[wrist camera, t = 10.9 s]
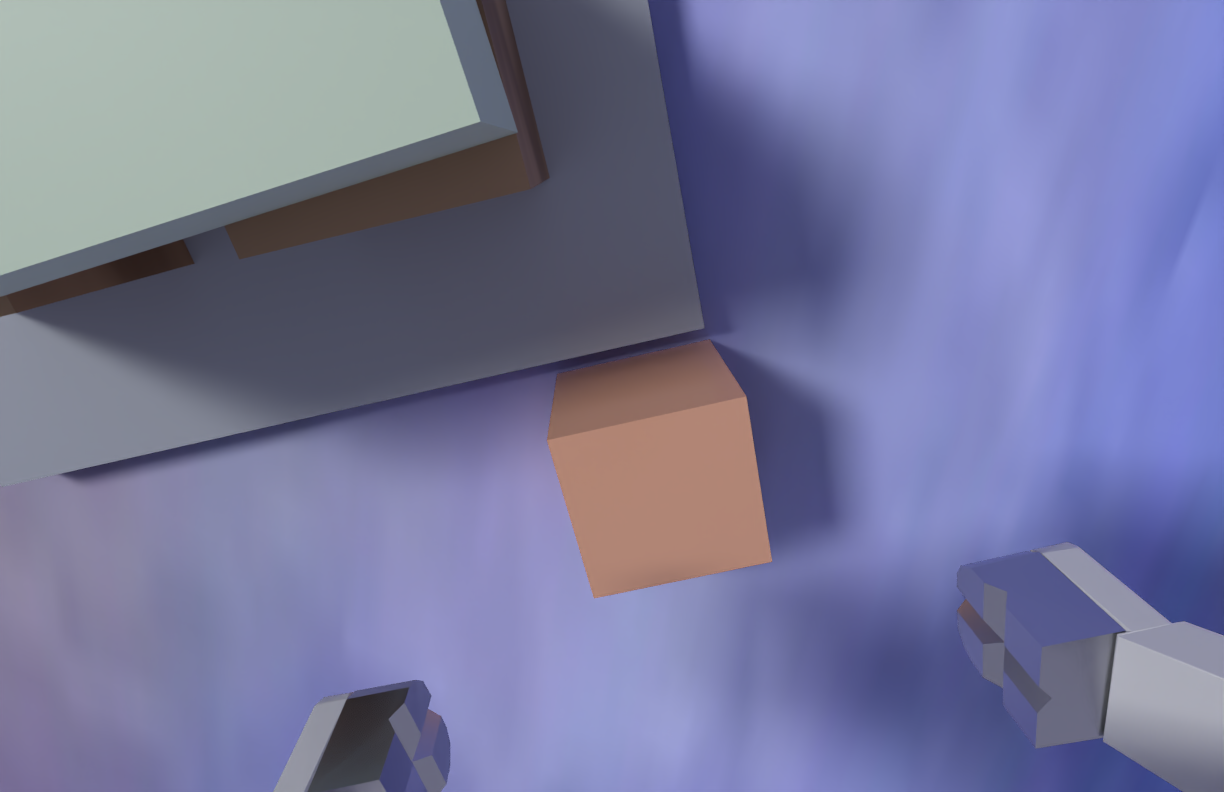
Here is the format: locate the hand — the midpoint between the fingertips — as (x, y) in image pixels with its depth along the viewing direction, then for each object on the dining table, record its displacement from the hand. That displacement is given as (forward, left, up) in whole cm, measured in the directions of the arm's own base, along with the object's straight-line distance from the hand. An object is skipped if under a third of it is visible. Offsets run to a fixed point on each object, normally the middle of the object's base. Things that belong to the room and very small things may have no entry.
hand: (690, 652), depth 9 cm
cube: (-1, 0, -10) cm, 10 cm away
